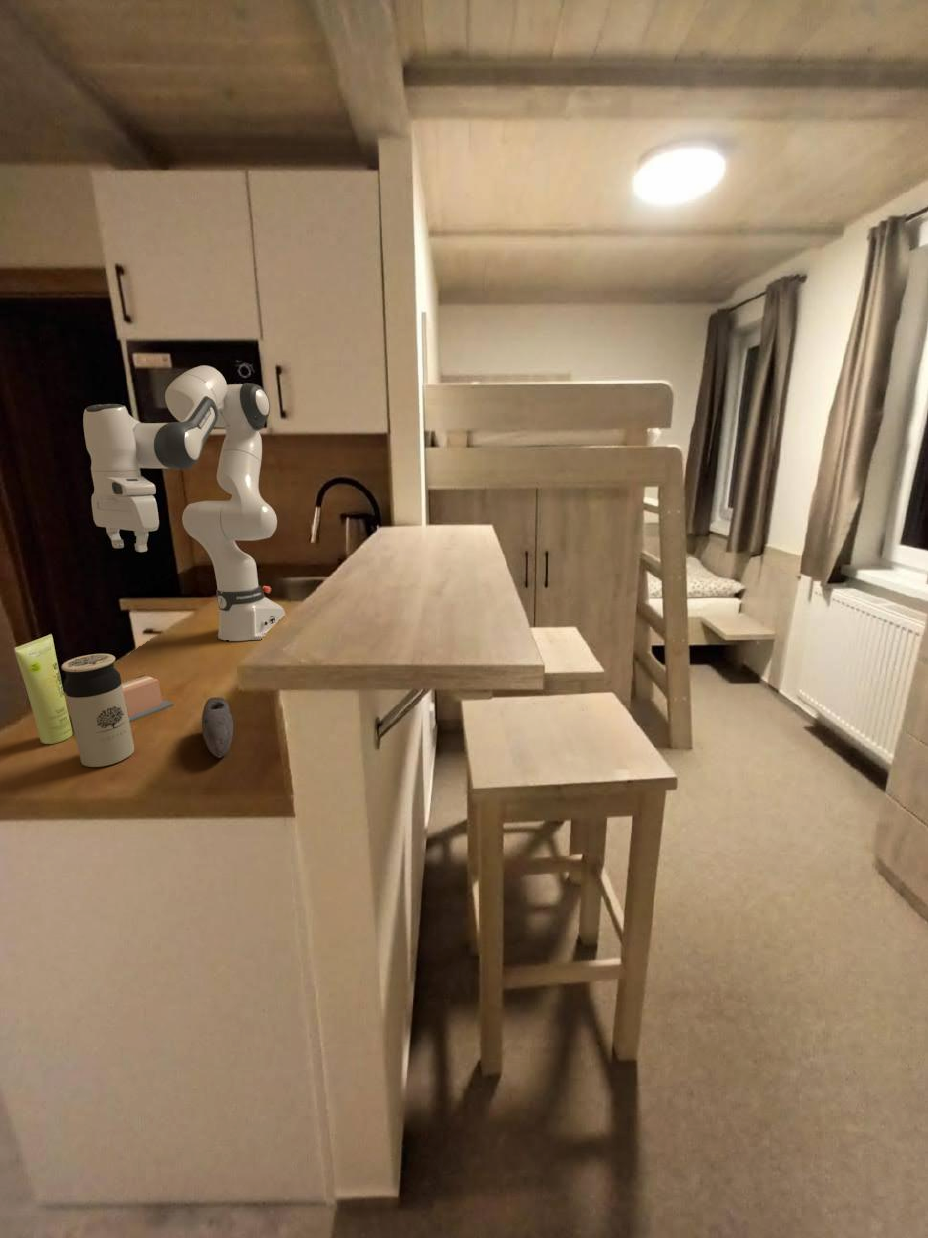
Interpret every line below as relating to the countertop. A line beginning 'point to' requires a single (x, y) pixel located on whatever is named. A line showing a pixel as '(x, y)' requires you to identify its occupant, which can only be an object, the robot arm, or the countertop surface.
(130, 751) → the travel mug
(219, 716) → the perforated stone tool
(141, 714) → the slate pad
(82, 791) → the countertop surface
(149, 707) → the terracotta block
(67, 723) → the tube
